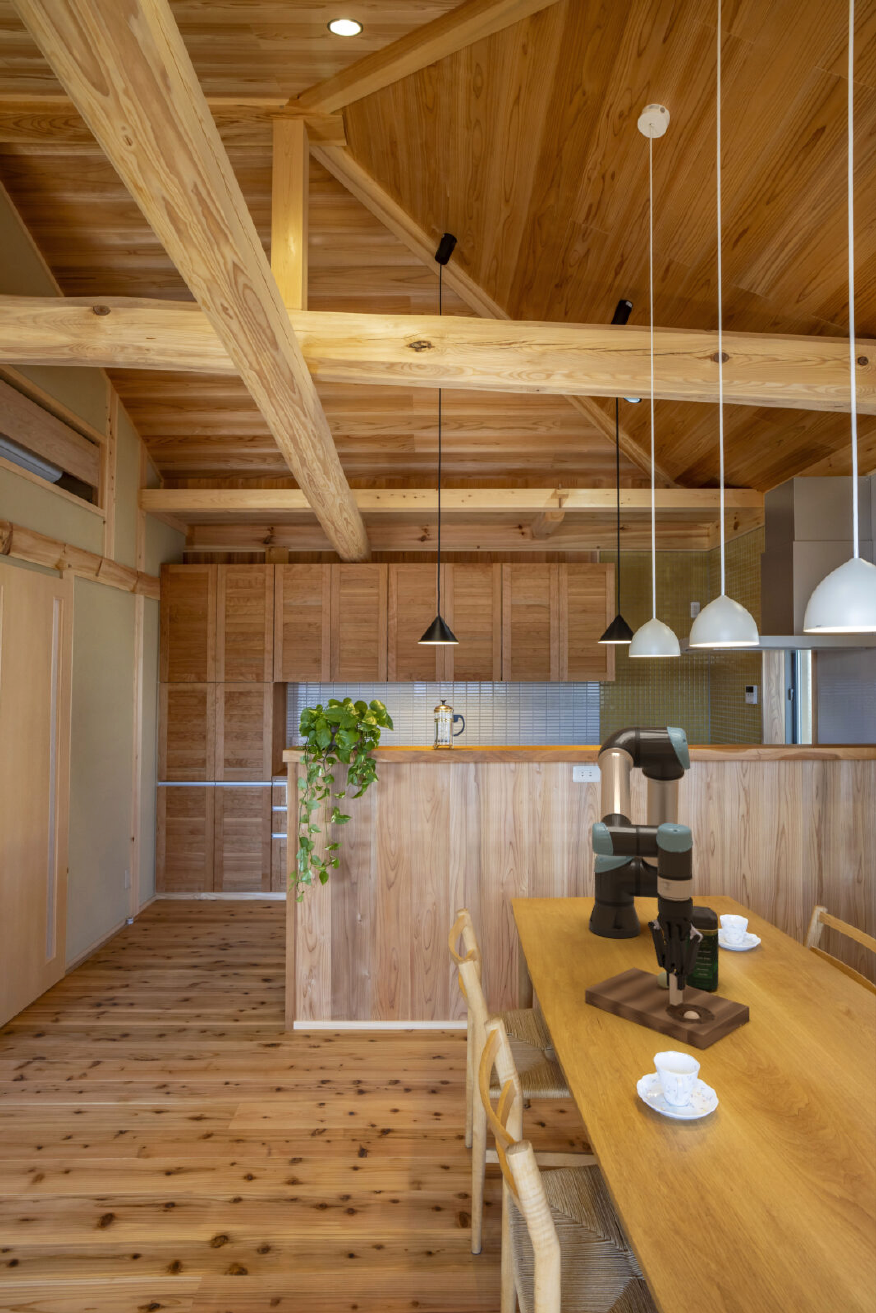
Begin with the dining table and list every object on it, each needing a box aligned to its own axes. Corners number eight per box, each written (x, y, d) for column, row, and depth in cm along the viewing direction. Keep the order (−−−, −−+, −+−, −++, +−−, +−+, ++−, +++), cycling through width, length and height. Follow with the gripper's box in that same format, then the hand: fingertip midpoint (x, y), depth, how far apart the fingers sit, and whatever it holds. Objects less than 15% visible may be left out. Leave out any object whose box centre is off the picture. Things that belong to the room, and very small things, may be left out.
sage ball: (654, 987, 178) (654, 971, 178) (662, 983, 180) (662, 968, 180) (667, 992, 175) (667, 976, 175) (676, 987, 177) (676, 972, 177)
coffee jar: (719, 994, 181) (718, 916, 181) (684, 989, 183) (684, 913, 184) (718, 978, 190) (717, 905, 190) (685, 974, 192) (684, 902, 193)
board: (585, 1002, 176) (584, 989, 176) (634, 979, 190) (633, 967, 190) (703, 1049, 154) (703, 1035, 154) (749, 1020, 167) (749, 1006, 167)
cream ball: (698, 1027, 160) (685, 1033, 162) (706, 1023, 163) (694, 1028, 165) (689, 1010, 162) (676, 1016, 164) (697, 1006, 165) (685, 1012, 167)
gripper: (640, 892, 169) (641, 998, 169) (693, 905, 160) (694, 1017, 159) (658, 886, 174) (659, 988, 174) (710, 898, 165) (712, 1007, 164)
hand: (676, 1002), depth 166 cm, fingers closed
